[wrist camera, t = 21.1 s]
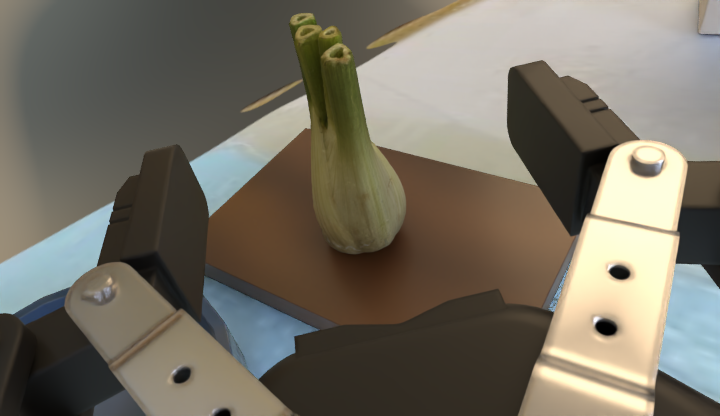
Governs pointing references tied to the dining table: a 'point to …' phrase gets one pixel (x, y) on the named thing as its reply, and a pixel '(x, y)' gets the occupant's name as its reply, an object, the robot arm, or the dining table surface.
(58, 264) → the dining table surface
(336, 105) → the fennel bulb
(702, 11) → the milk carton
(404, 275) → the board
